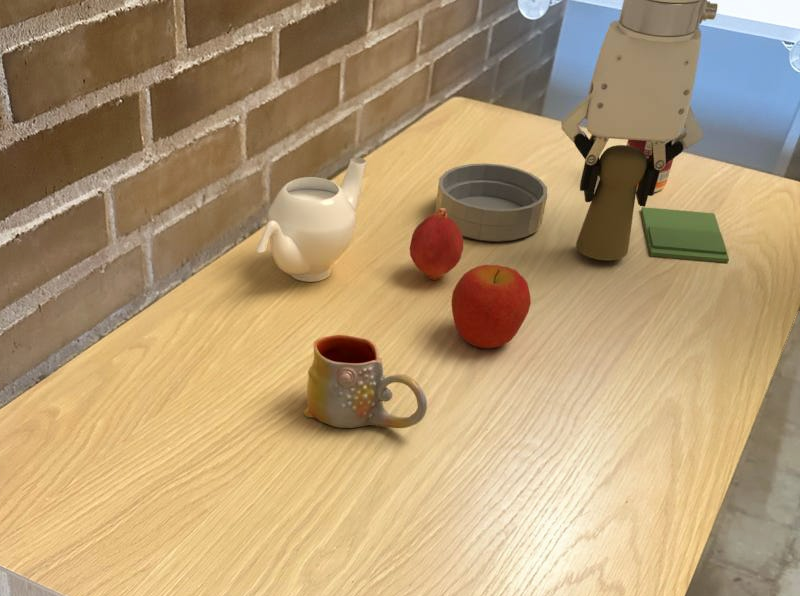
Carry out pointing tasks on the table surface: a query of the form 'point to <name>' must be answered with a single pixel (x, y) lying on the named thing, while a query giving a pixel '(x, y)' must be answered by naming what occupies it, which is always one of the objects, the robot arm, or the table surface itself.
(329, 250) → the teapot
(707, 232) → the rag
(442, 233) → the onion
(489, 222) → the pan
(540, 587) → the table surface
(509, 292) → the apple
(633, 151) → the brown tapered knob piece
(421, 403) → the mug
